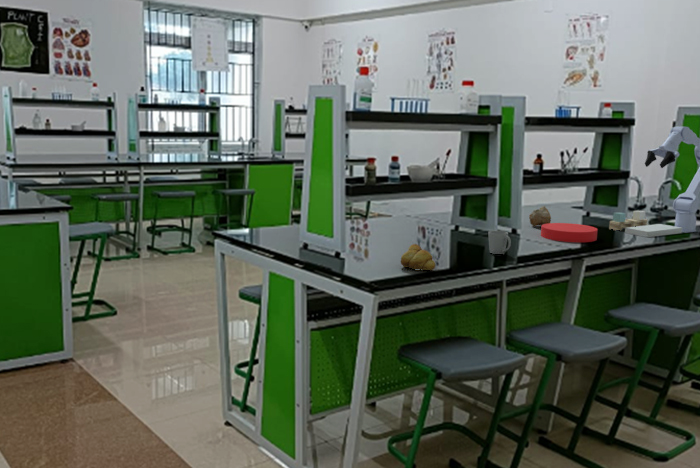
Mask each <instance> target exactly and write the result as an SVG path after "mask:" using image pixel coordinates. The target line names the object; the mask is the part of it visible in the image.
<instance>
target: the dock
mask: <svg viewBox="0 0 700 468" xmlns="http://www.w3.org/2000/svg"><path fill="white" fill-rule="evenodd" d="M624 229H625V230H624V233H625V234H628V235H634V236H639V237H643V238H644V237H645V238H651V237H659V236H661V237H662V236H668V235H678V234H683V232H682V229H683V228H681V227H675V225H669V224H664V223H663V224H662V223H656V224H647V225H645V226H636V227H627V228H624Z"/></svg>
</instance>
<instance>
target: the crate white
mask: <svg viewBox="0 0 700 468" xmlns="http://www.w3.org/2000/svg"><path fill="white" fill-rule="evenodd" d="M632 219H636V220H645V219H646V211H643V210H633V212H632Z"/></svg>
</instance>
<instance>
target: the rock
mask: <svg viewBox="0 0 700 468" xmlns="http://www.w3.org/2000/svg"><path fill="white" fill-rule="evenodd" d="M528 217H529V223H530V225H532V226H533V227H536V226H542V225H543V224H548V223H552V221H551V220H552V216H551V214H550V212H549V209H547V207H546V206H541V207H540V208H539V209H534V210H533V211H532V212H531V213H530V214H529V216H528Z"/></svg>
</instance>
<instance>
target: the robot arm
mask: <svg viewBox="0 0 700 468" xmlns="http://www.w3.org/2000/svg"><path fill="white" fill-rule="evenodd" d="M681 142H683V143H684V144H687V145H694V156H695V159H696V160H695V161H696V163H697V165H698V166H699V168H698V169H697V171H696V173H695V174H694V176H693V178H692V180H691V182H690V183H689V185H688V187H687V189H686V191H685V192H682V193H680V194H679V195H678V196H677V197H676V198H675V199H674V200H673V203H672V208H673V210H674V213H675V222H674V226H675V227H681V228H683V229H682V233H685V234H686V233H693V232H697V230H696V226H697V215H696V214H695V213H696V212H697V211H698V209H699V205H700V199H699V197H698V195H699V193H700V137H698V136H697V134H696V133H695V132H693V129H690V127H689V126H677V125H676V126H673V127H671V129H670V131H669V134H668V136H667V137H666V139H665V140H664V142H663V143H662V144H661V145H659V146H658V147H657V148H653V149H648V151H647V154H646V159H645V162H644V166H645V167H646V168H647V167H649V166H650V165H651V164H652V163H653V162H655V161H657V157H656V156H658V157H660V158H663V159H662V161H660V163H659V166H660V168H661V169H663V168H664V167H666V166H668V165H669V164H671V163H674V162H675V161H676V159H677V158H679V156H680V152H679V151H676V149H677V147H678V146H679V145H680V144H681Z"/></svg>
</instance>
